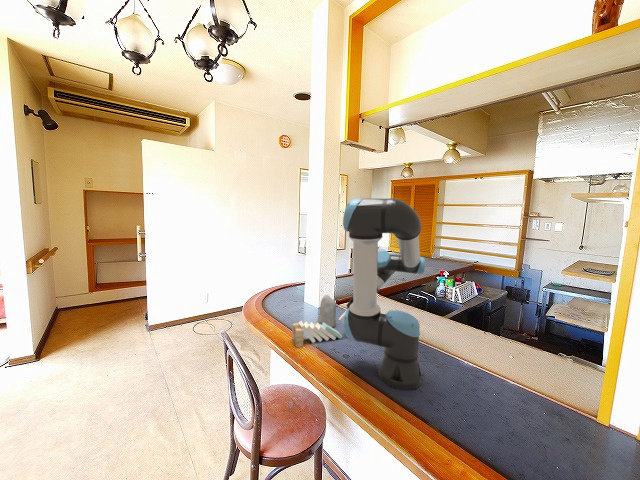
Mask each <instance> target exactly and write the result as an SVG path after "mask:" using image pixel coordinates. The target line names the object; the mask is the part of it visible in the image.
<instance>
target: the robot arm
mask: <svg viewBox="0 0 640 480" xmlns="http://www.w3.org/2000/svg"><path fill="white" fill-rule="evenodd" d="M343 212H344V213H343V218H342V226H343V230H344V231H345V232H347V233H348V238H349V239H350V240H351V241H352V242H353V244H352V246H353V267H352V268H353V269H352V270H353V275H352V276H353V281H352V282H353V284H352V287H353V292H352V296H351V298H350V300H349V301H348V303H347V304H346V310H345V311H344V312H343V313H342V315H341V316H339V318H338V321H340V322H341V323H342V324H343V329H344V333H345V336H346V337H347V338H348V339H350V340H352V341H355V342H358V343H363V344H368V345H373V346H376V347H377V346H378V347H382V348H384V354H383V356H382V358H381V361H380V363H379V366H378V376H379V378H380V380H381V381H382V382H383V383H385V385H387V386H390V387H392V388H394V389H398V390H403V391H404V390H405V391H408V390H410V391H411V390H414V389H417V388H419V387H420V386H421V385H422V381H423V380H422V377H423V376H422V375H423V374H422V371H421V367H420V363H419V360H418V359H419V342H420V335H421V332H420V322H419V320H418V319H417V317H415V316H414V315H412V314H410V313H408V312H405V311H402V310H398V309H397V310H396V309H395V310H393V309H391V310H388V311H386V313H382V312H381V306H380V305H379V304H377V300H378V299H377V298H378V296H377V293H378V292H379V290H380V289H382V287H383V286H384V285H385V284H386V283H387V281H388V280H389V279H390V278H391V277H392V276H393V275H394V274H395V273H396V272H398V273H406V274H414V275H423V274H424V273H425V270H426V258H425V257H422V256H421V253H420V250H421V249H420V237H419V236H420V234H421V232H422V222H421V219H420V216H419V214H418V213H417V212H416V211H415V209H414V208H413V207H412V206H410V205H409V204H408V203H406V202H405V201H403V200H401V199H398V198H394V197H392V198H390V197H389V198H373V197H371V198H369V197H367V198H366V197H365V198H364V197H362V198H361V197H360V198H359V197H358V198H353V199H351V200H349V202H347V204H346V207H345V210H344V211H343ZM383 234H392V235H394V236H395V238H396V239H397V244H398V249H399V254H400V255H399V254H391V253H389V252H388V251H387V250H385V249H381V250H378V247H379V245H378V244H379V241H380V240H382V238H383Z"/></svg>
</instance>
